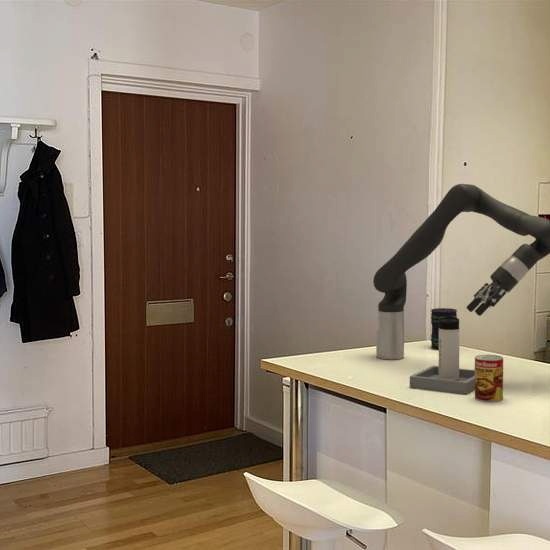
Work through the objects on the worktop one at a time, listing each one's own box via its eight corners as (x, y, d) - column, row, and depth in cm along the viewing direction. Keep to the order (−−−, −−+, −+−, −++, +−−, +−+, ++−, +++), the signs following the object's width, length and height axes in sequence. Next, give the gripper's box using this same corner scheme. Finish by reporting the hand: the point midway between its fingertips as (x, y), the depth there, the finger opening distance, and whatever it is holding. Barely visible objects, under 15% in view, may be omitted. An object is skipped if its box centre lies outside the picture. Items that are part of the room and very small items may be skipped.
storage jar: (426, 347, 309) (425, 309, 307) (447, 345, 312) (447, 307, 311) (439, 351, 299) (439, 312, 298) (462, 349, 303) (462, 310, 302)
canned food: (469, 398, 228) (469, 357, 227) (483, 393, 234) (483, 353, 233) (493, 403, 223) (494, 361, 222) (508, 397, 228) (508, 356, 227)
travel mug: (460, 379, 248) (460, 316, 246) (458, 384, 241) (458, 319, 240) (440, 378, 250) (440, 315, 248) (437, 383, 243) (437, 318, 242)
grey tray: (409, 387, 243) (409, 376, 243) (432, 376, 258) (432, 365, 257) (466, 394, 233) (466, 382, 233) (486, 382, 248) (486, 371, 248)
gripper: (493, 263, 250) (457, 300, 250) (509, 267, 236) (471, 306, 236) (509, 280, 251) (473, 317, 251) (526, 284, 237) (488, 323, 237)
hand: (472, 311), depth 244 cm, fingers open, 8 cm apart
